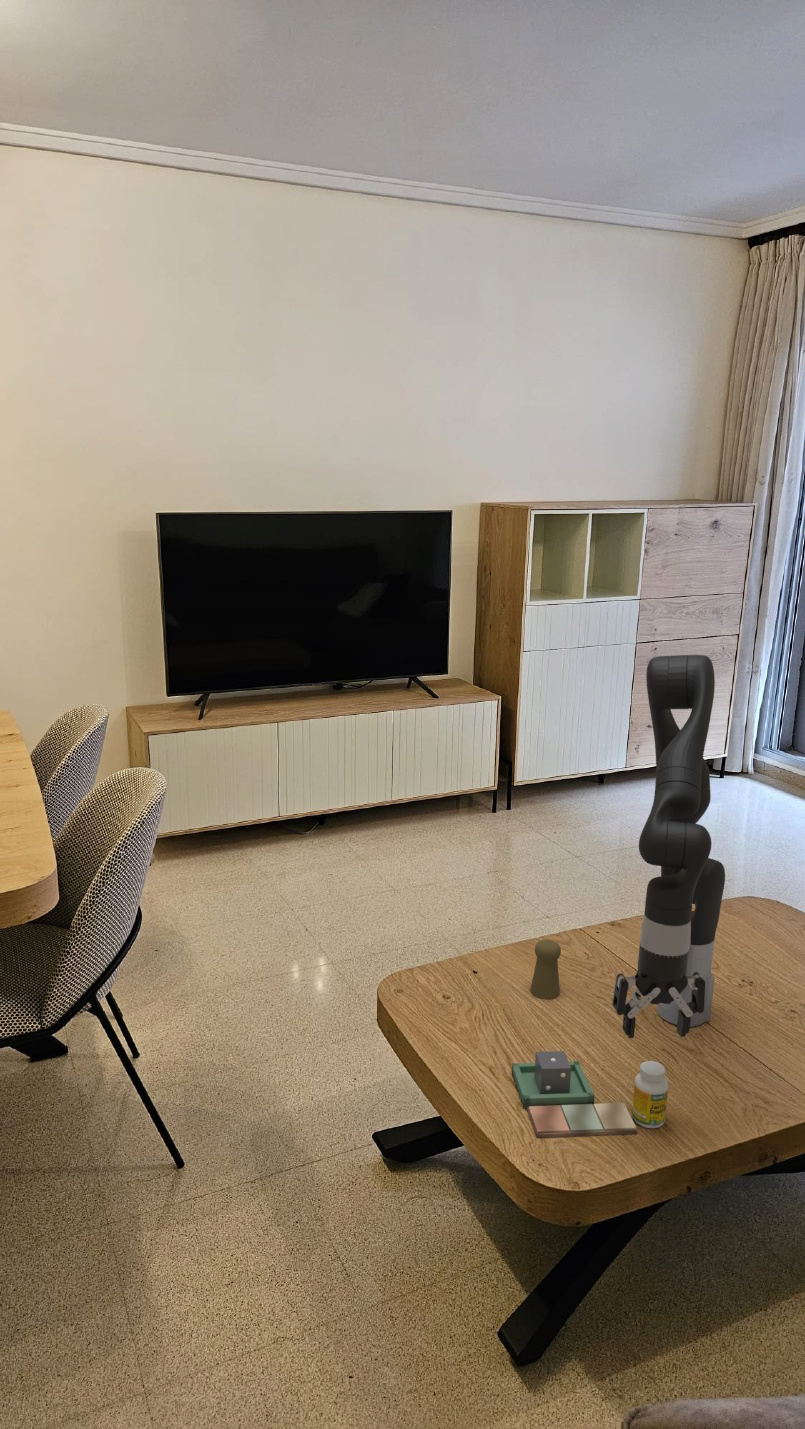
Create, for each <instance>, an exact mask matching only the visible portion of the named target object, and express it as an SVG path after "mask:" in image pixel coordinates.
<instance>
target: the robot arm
mask: <svg viewBox="0 0 805 1429" xmlns="http://www.w3.org/2000/svg"><path fill="white" fill-rule="evenodd" d="M645 676H646V690H647V697H648V698H647V699H648V706H649V710H650V716H651V717H650V718H651V724H652V729H653V730H652V731H653V737H654V738H653V739H654V748H655V749H654V750H655V751H654V752H655V770H656V771H655V784H654V795H653V803H652V806H651V809H650V813H649V814H648V818H647V819H646V822H645V824H644V826H643V828H642V830H641V834H640V836H639V840H638V852H639V855H640V856H641V859H643V861H644V862H645V863H647V864H648V865H651V866H656V867H657V866H658V867H660V876H656V877H653V878H651V879H650V880H649V881H648V884H647V886H646V896H645V903H644V904H645V906H644V913H643V914H644V915H643V919H642V922H641V931H640V936H639V947H638V948H639V950H638V957H637V958H638V959H637V971H636V974H635V975H634V976H625V975H624V973H621V972H619V973H617V975H616V978H615V984H614V991H613V998H612V1002H611V1004H612V1007H613V1009H614V1010H615V1013H616V1014H617V1015H618V1016H622V1017H623V1018H622V1026H621V1027H622V1030H623V1032H624V1033H625V1035H626V1036H627V1038H628V1039H634V1038H635V1032H636V1030H635V1029H636V1015H638V1013H639V1012H640V1011H641V1010H645V1008H646V1007H647V1006H648V1005H649V1004H651V1005H657V1013H658V1015H659V1016H660V1017H661V1018H662V1019H663V1020H665V1021H666V1022H668V1023H670V1024H672V1025H675V1026H676V1032H677V1034H678V1035H679V1037H680V1038H683V1037H684V1038H686V1036H687V1034H689V1032H690V1029H691V1028H690V1027H698V1026H700V1025H702V1024H703V1023H709V1022H711V1015H712V1014H711V1013H712V1005H713V997H714V987H715V976H714V975H713V974H712V967H713V957H714V948H715V947H714V946H715V941H716V940H715V939H716V934H717V933H716V932H717V928H718V923H719V920H720V914H721V908H722V901H723V896H724V889H725V883H726V870H725V867H724V864H723V863H722V862H721V861H719V860H717V859H713V858H710V854H711V850H712V838H711V834H710V832H709V831H708V830H707V828H706V827H705V826H704V825H702V824H699V823H698V822H699V820H701V818H702V817H704V815H705V813H706V811H707V810H708V808H709V806H710V803H711V796H712V795H711V792H712V791H711V779H710V778H711V777H710V769H709V766H708V763H707V761H706V759H705V758H704V753H705V748H706V743H707V737H708V734H709V728H710V723H711V717H712V712H713V705H714V698H715V686H716V683H715V682H716V681H715V669H714V664H713V662H712V660H711V658H710V657H709V656H707V655H702V654H685V655H683V654H681V655H678V654H676V655H659V656H654V657H652V658H650V660H649V662H648V663H647V667H646V675H645ZM672 710H690V714H689V717H688V718H687V720H686V722H685V723H684V725H683V726H682V727H681V729H680V727H679V725H678V724H677V722H676V720H675V717H674V715H673V712H672ZM693 905H695V906H694V910H692V909H693ZM633 986H635V987H636V988H635V989H634V990H633V991H632V993H631V994H630V997H629V999H628V1000H627V997H628V992H631V989H632V987H633Z"/></svg>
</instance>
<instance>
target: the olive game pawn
mask: <svg viewBox="0 0 805 1429" xmlns="http://www.w3.org/2000/svg"><path fill="white" fill-rule="evenodd" d="M561 949H562V948H561V947H560V944H559V943H558V942H557V941H554V940H551V939H542V940H539V941H538V942H537V943H536V944H535V947H534V953H535V956H536V960H535V966H534V971H533V976H532V980H531V984H530V989H529V990H530V994H531V995H532V996H533V997H535V998H537V999H540V1000H546V1001H547V1000H548V1001H549V1000H555V999H556V998H558V997H559V996H560V994H561V989H560V976H559V963H558V960H559V958H560V956H561V953H562V950H561Z"/></svg>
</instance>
